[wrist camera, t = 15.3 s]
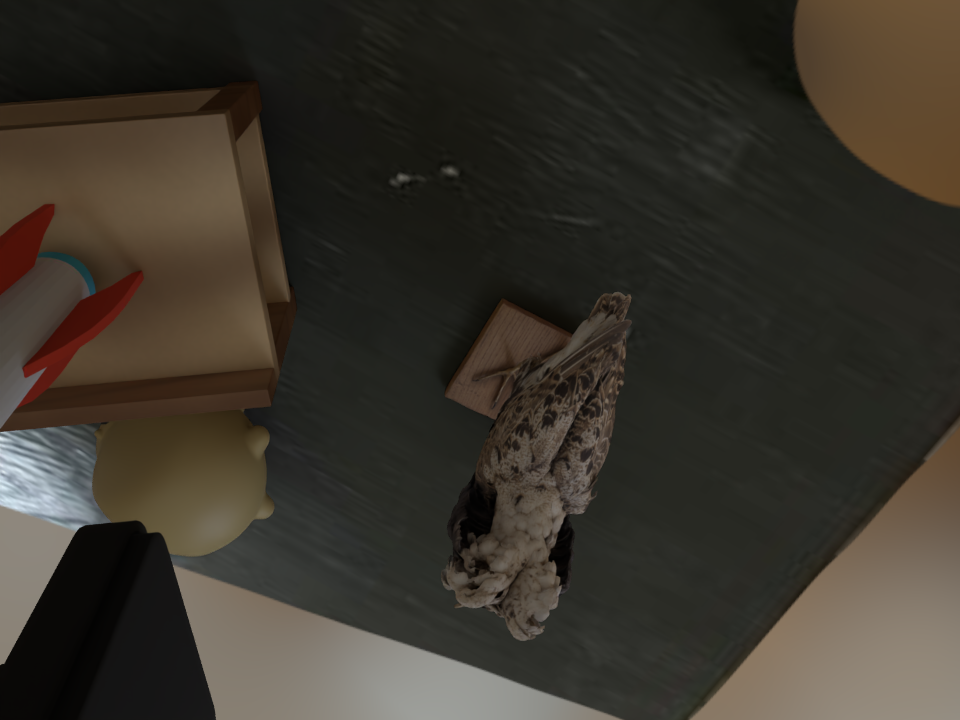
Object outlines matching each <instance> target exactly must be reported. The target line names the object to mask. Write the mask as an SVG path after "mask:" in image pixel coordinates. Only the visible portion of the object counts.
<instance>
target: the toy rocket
mask: <svg viewBox="0 0 960 720" xmlns="http://www.w3.org/2000/svg"><path fill="white" fill-rule="evenodd" d="M54 206H55V204H44V205H42V206H41V207H39V208H38V209H36V210H35V211H33V212H32V213H30V214H29V215H27V216H26V217H24V218H23V219H21V220H20V221H18V222H17V223H15V224H14V225H13V226H12V227H11V228H9V229H8V230H7V231H6V232H5V233H4V234H3V235H1V236H0V429H1V427H2V426H3V425H4V423H5V422H6V421H7V419H8V418H9V417H10V415H11V414H12V413H13V411H14V410H15V409H16V408H18V407H21V406H23V405H25V404H27V403H29V402H32V401H33V400H34V399H35V398H37V397H38V396H39V395H40V394H41V393H43V392H44V391H45V390H46V389H47V388H49V386H50V385H51V384H52V383H53V382H54V381H55V380H56V378H57V377H58V376H59V375H60V374H61V373H62V372H63V370H64V369H65V367H66V366H67V365H68V363H69V362H70V360H71V359H72V358H73V356H74V355H75V354H76V352H77V351H78V349H79V348H80V347H82V346H83V345H85V344H86V343H88V342H89V341H91V340H92V339H94V338H95V337H96V336H97V335H98V334H99V333H100V332H101V331H103V330H104V329H105V328H106V327H107V326H108V325H109V324H110V323H112V322H113V321H114V319H115V318H116V317H117V316H118V315H119V314H120V312H121V311H122V310H123V309H124V308H125V307H126V305H127V304H128V302H129V301H130V299H131V298H132V296H133V295H134V293H135V292H136V290H137V289H138V287H139V286H140V284H141V283H142V281H143V280H144V277H143V272H142V271H138V272H134V273H131V274H129V275H128V276H126V277H125V278H123V279H121V280H120V281H118V282H117V283H115V284H113V285H112V286H110V287H108V288H105V289H103V290H101V291H99V292H97V293H96V291H95V284H94V281H93V278H92V276H91V274H90V272H89V270H88V269H87V268H86V267H85V265H84V264H82V263H81V262H80V261H79V260H78V259H76V258H74V257H72V256H70V255H67V254H64V253H59V252H42V253H38V252H39V249H40V246H41V243H42V240H43V237H44V234H45V232H46V230H47V228H48V226H49V224H50V222H51V220H52V218H53V216H54Z"/></svg>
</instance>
